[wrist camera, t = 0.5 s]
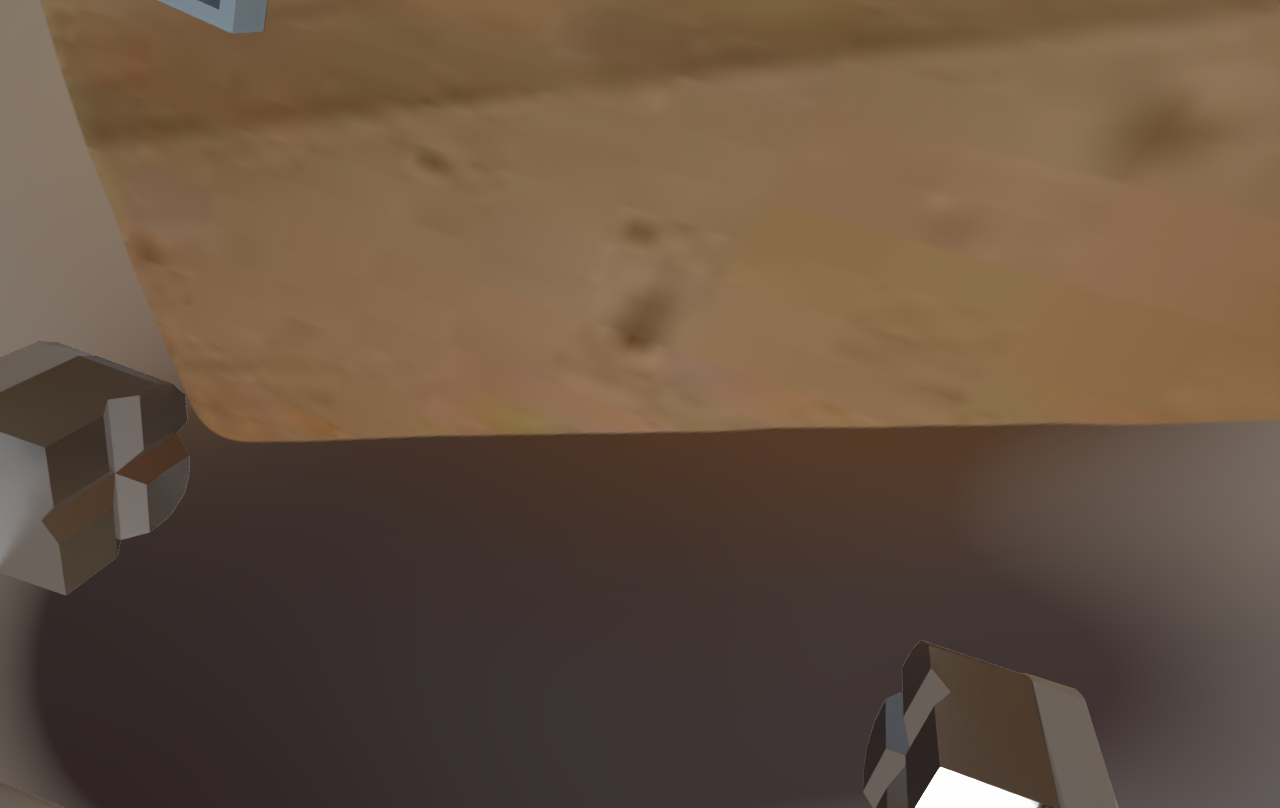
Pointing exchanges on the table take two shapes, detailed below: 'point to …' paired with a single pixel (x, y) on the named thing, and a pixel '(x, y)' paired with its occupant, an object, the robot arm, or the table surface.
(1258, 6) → the table surface
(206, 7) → the tray
